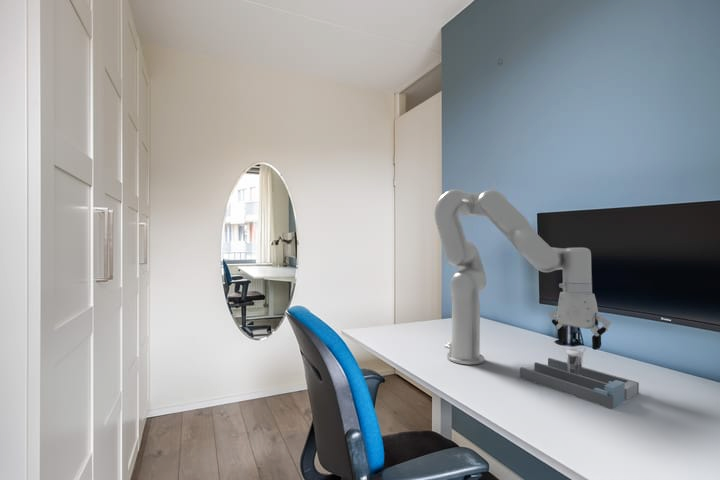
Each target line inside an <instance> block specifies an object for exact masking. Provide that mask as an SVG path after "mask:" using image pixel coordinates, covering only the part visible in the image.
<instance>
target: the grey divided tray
mask: <svg viewBox="0 0 720 480" xmlns="http://www.w3.org/2000/svg"><path fill="white" fill-rule="evenodd" d="M519 378H520V379H524V380H527V381H528V382H532V383H536V384H538V385H540V386H543V387H546V388H548V389H549V388H550V389H552V390H556V391H558V392H561V393H564V394H566V395H570V396H573V397H576V398H578V399H581V400H584V401H587V402H590V403H592V404H596V405H598V406H602V407H603V408H604V407H605V408H607V409H611V410H612V409H614V408H615V407H617V406H619V405H621V404H622V403H624V402H626V401H627V400H629V399H630V400H631V398H632V397H635V396H637V395H638V394H639V391H640V390H639V389H640V388H639V387H640V383H639V382H638V381H635V380H630V379H627V378H624V377H621V376H617V375H613V374H609V373H606V372H603V371H598V370H596V369H592V368H587V367H585V366H582V368H581V375H578V374H574V373H571V372H568V368H567V361H566V362H565V361H562V360H558V359H555V358H551V357H548V358H547V364H544V363H540V362H534V369H533V370H532V369H529V368H527V367H523V366H521V367H519Z"/></svg>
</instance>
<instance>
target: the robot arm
mask: <svg viewBox="0 0 720 480" xmlns="http://www.w3.org/2000/svg"><path fill="white" fill-rule="evenodd" d="M459 215H460V216H474V217H475V216H476V217H477V216H479V217H486V218H487V219H488V220H489V221H490V222H491V223H492V224H493V225H494V226H495V227H496V228H497V229H498V230H499V231H500V232H501V234H503V235H504V237H506V238H507V240H508V241H509V243H511V244H512V245H513V246H514V248H515V249H516V250H517V252H519V253H520V254H521V255H522V256H523V258H525V260H527V262H529V263H530V264H531V265H532V266H533V267H534V268H535V269H536V270H538V271H539V272H542V273H551V272H554V271H559V270H562V283H559V284H558V287H559V288H561V289H562V291H560V292H559V297H558V302H557V303H558V304H557V310H555V311H552V312H549V314H548V317H549V318H550V320H551V323H552V324H553V325H554V326H555V329H556V330H557V339H558V343H560V344H561V343H564V342H567V329H566V328H565V327H566V326H567V327H573V328H580V329H587V330H588V329H589V331H590V332H591V333H592V334H593V335H592V336H591V344H592V345H591V346H592V350H594V351H596V350H599V349H601V347H602V336H603V334H605V333H606V332H607V331H608V330H609V328H610V326H611V325H612V321H610V320H609V319H607V318H605V317H603V316H602V315H600V314H599V310H598V303H597V299H596V295H595V293H593V275H592V252H591V250H590V249H589V248H587V247H566V248H561V247H551V246H550V245H549V244H548V243H547V242H546V241H545V240H544V239H543V238H542V237H541V236H540V235H539V234H538V233H537V232H536V231H535V230H534V229H533V227H532V226H531V224H530V221H529V220H528V219H527V217H525V215H523V214H522V213H521V212H520V211H519V210H518V209H517V208H516V207H515V206H514V205H513V204H512V203H511V202H509V201H508V198H507V196H505V194H504V193H501V192H500V191H497V190H495V189H488V190H485V191H483V192H467V191H464V190H461V189H449V190H447V191H445V192H444V193H443V194H442V195H440V197H439V198H438V200H437V201H436V204H435V207H434V221H435V223H436V227H437V230H438V235H439V239H440V242H441V245H442V249H443V252H444V256H445V260H446V261H447V263H448V264H449V265H451V266H452V267H456V269H457V271H456V272H455V273H454V274H453V276H451V279H450V282H449V283H450V284H449V285H450V287H449V288H450V289H449V290H450V296H451V297H450V298H451V341H447V342H446V344H444V348H445V349H449V351H448V353H447V354H446V355H447V359H448V360H449V361H451V362H453V363H456V364H461V365H467V366H470V365H471V366H472V365H481V364H483V363H484V362H485V356H484V355H483V354H481V353H480V352H481V351H480V349H481V347H480V346H481V345H480V344H481V343H480V341H481V309H480V308H481V307H480V306H481V305H480V304H481V303H480V297H479V293H481V292H482V291H483V290H485V288H486V286H487V275H486V272H485V269H484V266H483V263H482V259H481V256H480V253H479V249H478V247H477V246H476V245H475V244H474V243H473V242H472V241H470V240H467V238H466V236H465V235H466V234H465V232H464V228H463V225H462V223H461V221H460V218H459ZM599 323H601V324H602V326H601V327H599Z"/></svg>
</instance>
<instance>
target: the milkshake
mask: <svg viewBox="0 0 720 480" xmlns="http://www.w3.org/2000/svg"><path fill="white" fill-rule="evenodd" d="M586 349H587V347H584V349H583V351H580V350H579V349H575V348H568V349H567V350H566V351H565V357H566V362H567V368H568V372H571V373H574V374H578V375H581V368H582V367H583V359H584V353H585V351H586Z"/></svg>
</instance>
